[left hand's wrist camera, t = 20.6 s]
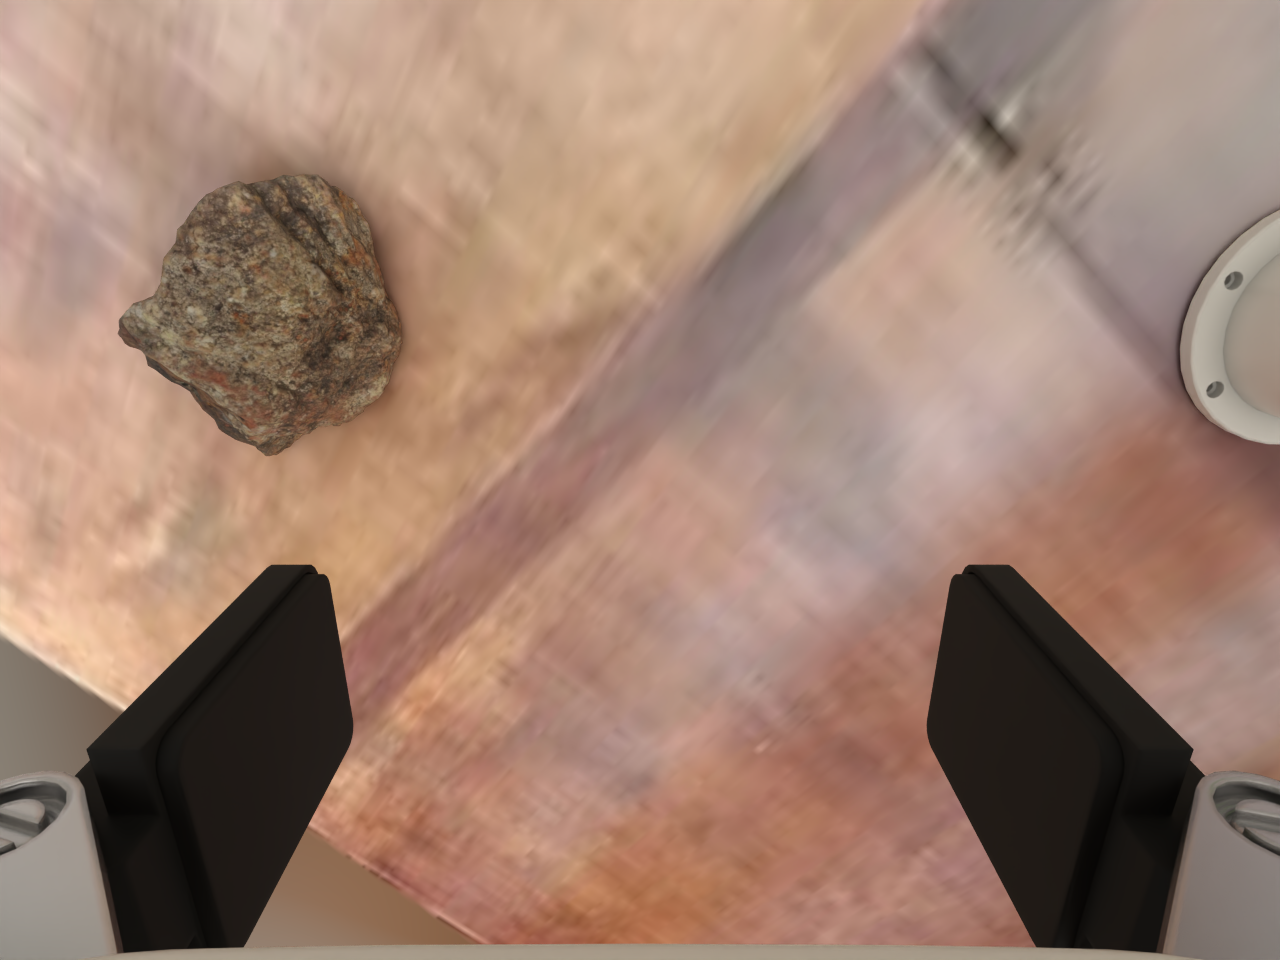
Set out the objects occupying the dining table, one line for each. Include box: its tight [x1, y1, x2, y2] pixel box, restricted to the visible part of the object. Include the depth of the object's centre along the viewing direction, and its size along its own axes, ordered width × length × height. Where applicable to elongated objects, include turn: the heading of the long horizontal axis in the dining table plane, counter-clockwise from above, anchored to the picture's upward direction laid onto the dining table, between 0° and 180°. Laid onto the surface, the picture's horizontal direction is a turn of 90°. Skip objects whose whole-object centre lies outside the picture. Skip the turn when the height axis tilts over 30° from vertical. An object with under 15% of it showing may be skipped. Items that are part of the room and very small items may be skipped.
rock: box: [118, 174, 402, 456], centre depth 35 cm, size 14×9×10 cm
